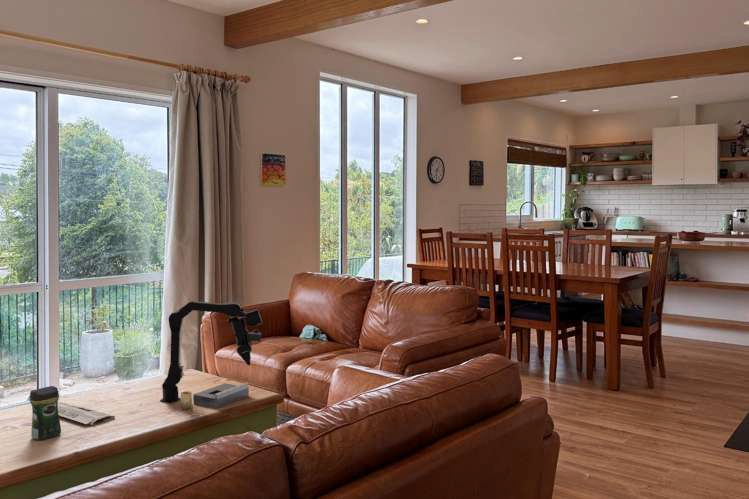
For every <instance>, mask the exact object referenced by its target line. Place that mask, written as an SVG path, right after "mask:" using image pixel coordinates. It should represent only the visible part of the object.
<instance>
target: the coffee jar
mask: <svg viewBox="0 0 749 499" xmlns="http://www.w3.org/2000/svg"><path fill="white" fill-rule="evenodd" d="M29 393H30V394H29V402H30V405H31V409H32V411H31V412H32V414H31V415H32V419H31V438H32V439H33V440H36V441H43V440H47V439H51V438H52V439H53V438H54V437H56V436H59V435H60V434H62V428H61V426H62V425H61V422H60V416H59V414H58V402H59V399H60V393H59V388H58V387H57V386H54V385H50V386H45V387H41V388H36V389H32V390H30V392H29Z"/></svg>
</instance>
